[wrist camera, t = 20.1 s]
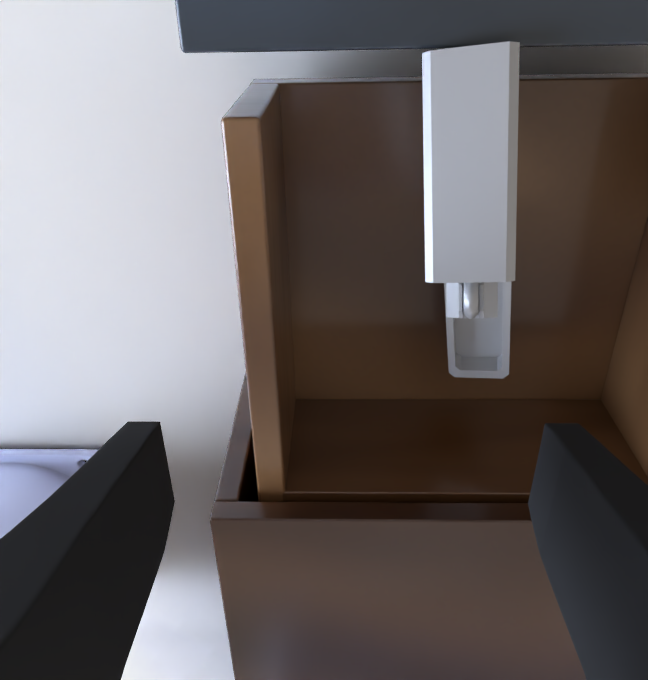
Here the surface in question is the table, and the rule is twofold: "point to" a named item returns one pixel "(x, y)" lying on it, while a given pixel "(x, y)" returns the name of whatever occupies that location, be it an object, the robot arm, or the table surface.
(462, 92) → the lighter
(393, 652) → the cabinet
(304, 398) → the drawer
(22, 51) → the table surface
